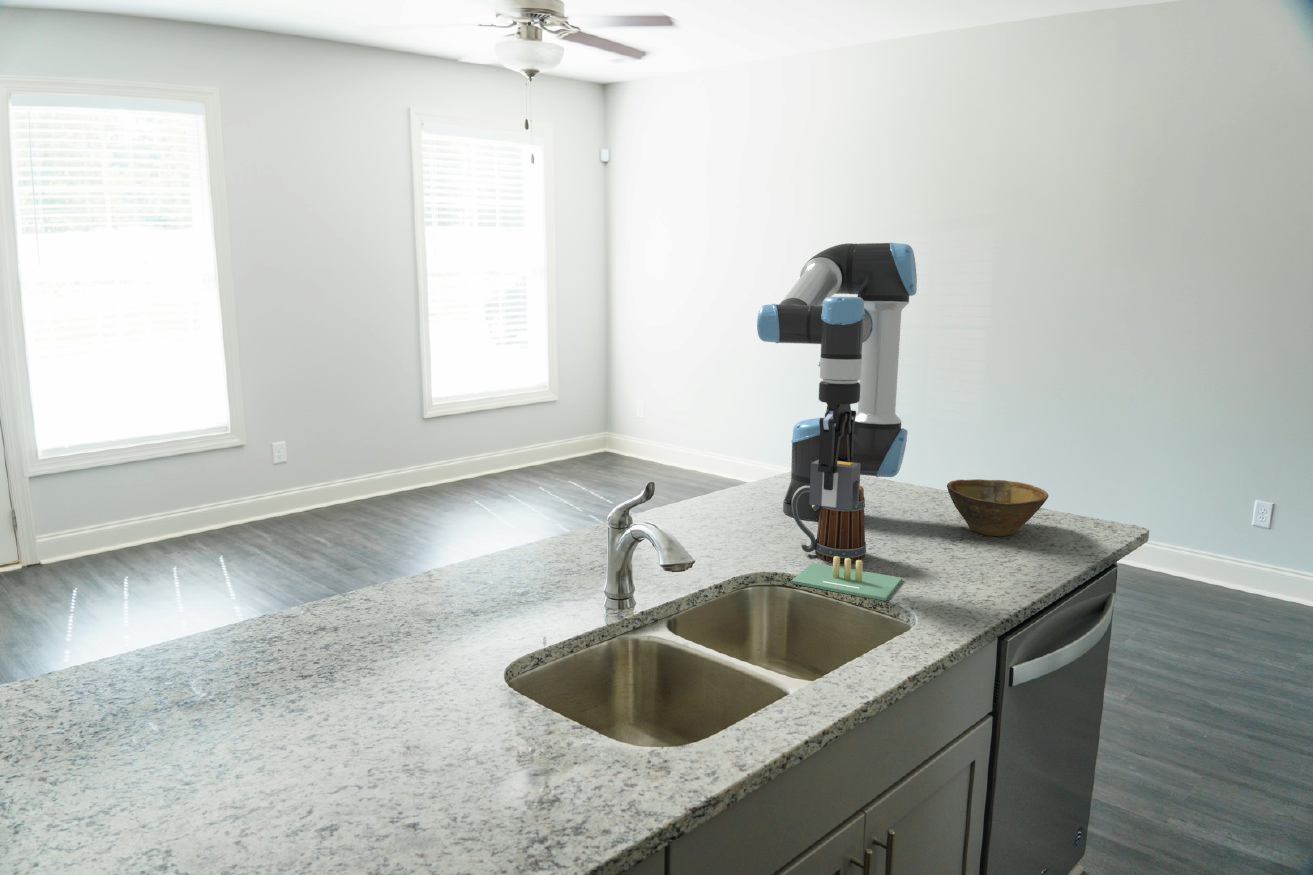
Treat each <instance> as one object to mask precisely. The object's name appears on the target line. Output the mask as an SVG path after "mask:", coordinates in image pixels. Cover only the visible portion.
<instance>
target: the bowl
mask: <svg viewBox="0 0 1313 875" xmlns="http://www.w3.org/2000/svg"><path fill="white" fill-rule="evenodd" d="M946 488H947V491H948V494H949V496H950V499H951V501H952V503H953V505H954V507H955V509H956V510H957V511H958V513H959V514H960V515H961V517H962V518H963V520H964V521H965V522H966V524H967V525H968V528H969V529H970V530H971V531H973V532H974V533H978V534H982V535H986V536H992V537H1006V536H1010V535H1011V536H1012V535H1013V534H1014V533H1015V532H1016V531H1018V529H1021V528H1022V527H1023V526H1024V525H1025V524H1026V523H1027V522H1028V521H1029V520H1030V519H1032V518H1033V516H1034V515H1035V514H1036V513H1037V512H1038V511H1039V510H1040V509H1041V508H1042V506H1043V505H1044V504H1045V503H1046V501H1047V500H1048V498H1049V494H1048V492H1047V491H1046V490H1044V489H1042V488H1040V487H1038V486H1035V485H1032V484H1029V483H1025V482H1019V481H1011V480H1004V479H1003V480H1002V479H955V480H950V481H949V482H948V483H947V485H946Z"/></svg>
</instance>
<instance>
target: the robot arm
mask: <svg viewBox="0 0 1313 875" xmlns="http://www.w3.org/2000/svg"><path fill="white" fill-rule="evenodd" d="M916 266H917V265H916V257H915V252H914V249H913V247H912V246H911V245H909V244H907V243H897V242H882V243H881V242H879V243H878V242H876V243H875V242H872V243H871V242H870V243H868V242H867V243H840V244H835V245H833V246H830V247H828V248H826V249H824V250H822V251H820V252H818V253H817V254H815V255H814V256H812V257H811V258H809V260H807V262H806V263H805V264H804V265H803V267H802V268H801V270H800V273H799V279H798V280H797V281H796V283H795V284H794V285H793V287H792V288H791V289H790V290H789V291H788V293H787V294H786V295H785V297H784V298H783V299H782V300H781V302H780V303H778V304H777V303H771V304H763V305H762V306H761V307H760V308H759V310H758V314H757V320H756V327H757V328H756V330H757V335H758V338H759V339H760V340H761V341H762V342H766V343H767V342H768V343H775V344H804V345H805V344H808V345H810V344H811V345H820V361H819V362H818V363H817V366H818V367H819V378H820V379H821V380H822V381H819V383H818V400H819V402H821V403H825V404H826V405H827V406H826V411H825V412H824V417H817V418H816V417H815V418H808V419H804V420H800V421H798V422H796V424H794V425H793V429H792V439H791V441H790V442H791V469H790V470H791V471H790V472H791V474H790V483H789V485H788V488H787V490H786V494H785V497H784V499H783V502H782V512H783V513H784V514H785V515H787V516H789V517H791V518H792V517H793V518H794V516H793V512H792V498H793V495H794V493H795V492H796V490H798V489H799V488H800V487H802V486H810V471H811V463H812V462H814V461H816V460H819V464H818V471H819V472H823V481H822V505H821V506H828V507H837V488H838V473H836V469H837V461H845V462H854V463H861V467H860V476H868V477H876V478H894V477H896V476H897V475H898V474H899V473H900V470H901V468H902V464H903V460H904V455H905V452H906V446H907V439H908V430H907V429H905V428H902V420H901V418H900V417H899V416H898V415H897V414H896V407H897V406H896V405H897V404H896V403H897V390H898V388H897V387H898V373H899V372H898V371H899V359H900V358H899V356H900V340H901V322H902V312H903V309H905V308H906V307H907V306H908V305H909V304H910V296H911V297H913V296H915V295H916V294H917V290H918V289H917V287H918V285H917V284H918V281H917V280H918V278H917V276H918V275H917V267H916ZM834 295H857V296H834ZM854 404H858V406H857V411H856V410H853V409H852V407H851V405H854ZM809 497H810V492H805V493H803V494H801V495H800V497H799V499H798V501H797V511H798V516H799V518H800V520H809V521H819V514H820V507H819V508H818V509H817V510H816V511H815V510H814V509H813V508H812V505H810V504H809Z"/></svg>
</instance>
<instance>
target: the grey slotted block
mask: <svg viewBox="0 0 1313 875" xmlns="http://www.w3.org/2000/svg"><path fill="white" fill-rule="evenodd" d="M818 464H819V460H816V461H814V462H812V463H811V471H810V497H809V504H810V505H817V506H821V505H822V481H823V472H819V471H818ZM860 467H861V463H854V462H845V461H837V469H836V473H838V488H837V507H831V508H838V509H845V510H851V509H852V505H855V506H857V505H859V488H860V486H861V485H860V484H861V475H860ZM824 507H828V506H824Z"/></svg>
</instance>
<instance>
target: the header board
mask: <svg viewBox="0 0 1313 875" xmlns="http://www.w3.org/2000/svg"><path fill="white" fill-rule="evenodd" d="M832 563H833V564H832V565H830V564H829V565H827V564H823V563H816V562H812V563H810V564H809V565H808V566H807V567H806V568H804V569H803V570H802V571H801V572H800V573H799V574H797V575H796V576H795V577H793V579H791V581H790V584H792V585H797V586H802V587H807V588H808V587H809V588H814V589H819V590H823V591H825V590H826V591H830V592H837V593H841V594H846V595H851V596H857V597H862V598H868V599H875V600H879V601H884V602H886V601H887V600H888V599H889V598H890V596H891V595H892V594H893V592H894V591H895V590H896V589H897V587H898V586H899V585H900V584H901V583H902V582H903V577H899V576H894V575H893V576H892V575H888V574H883V573H882V574H881V573H875V572H869V571H864V570H863V564H864V561H863V560H856V562H855V569H852V563H851V559H850V558H845V563H844V567H841V565H840V564H841V563H840V557H838V556H835V557H834V559H833V562H832Z"/></svg>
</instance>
